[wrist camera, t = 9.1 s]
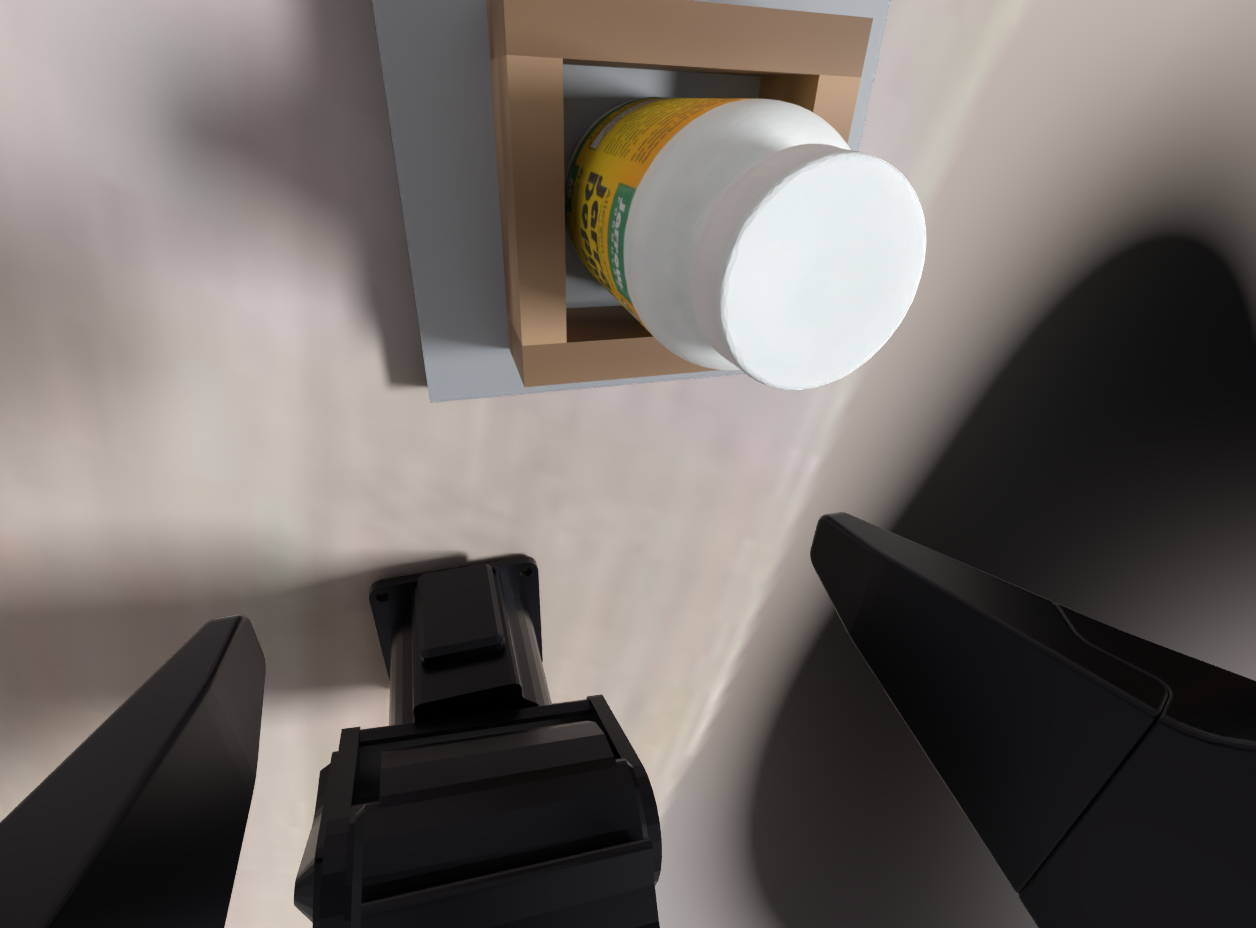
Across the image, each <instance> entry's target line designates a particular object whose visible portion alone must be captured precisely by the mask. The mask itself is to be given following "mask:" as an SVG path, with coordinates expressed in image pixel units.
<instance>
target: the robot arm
mask: <svg viewBox="0 0 1256 928" xmlns="http://www.w3.org/2000/svg"><path fill="white" fill-rule="evenodd" d="M810 557H811V561H812V564H813V567H814V568H815V571H816V573H817V574H818V576H819V578H820V580H821V582H822V584H823V586H824V588H825V590H826V592H827V594H828V596H829V598H830V600H831V602H832V604H833V606H834V607H835V609H836V611H837V613H838V615H839V617H840V619H841V621H842V623H843V625H844V626H845V628H846V630H847V632H848V634H849V636H850V637H851V639H852V641H853V642H854V644H855V646H856V647H857V649H858V650H859V652H860V653H861V655H862V656H863V658H864V659H865V661H866V662H867V664H868V666H869V667H870V669H871V670H872V672H873V673H874V675H875V677H876V678H877V679H878V681H879V683H880V684H881V686H882V687H883V689H884V690H885V692H886V693H887V695H888V696H889V698H890V700H891V701H892V703H893V704H894V706H895V707H896V709H897V710H898V712H899V713H900V715H901V716H902V718H903V719H904V721H905V723H906V724H907V726H908V727H909V729H910V730H911V731H912V733H913V735H914V736H915V738H916V740H917V741H918V743H919V744H920V746H921V747H922V749H923V750H924V752H925V753H926V755H927V757H928V758H929V759H930V761H931V763H932V764H933V766H934V767H935V769H936V770H937V772H938V773H939V775H940V777H941V778H942V780H943V781H944V783H945V784H946V786H947V787H948V789H949V790H950V792H951V793H952V795H953V796H954V798H955V800H956V801H957V802H958V804H959V806H960V807H961V809H962V810H963V812H964V813H965V815H966V816H967V818H968V820H969V821H970V823H971V824H972V826H973V827H974V829H975V830H976V832H977V833H978V835H979V837H980V838H981V840H982V841H983V843H984V844H985V846H986V847H987V849H988V850H989V852H990V853H991V855H992V856H993V858H994V860H995V861H996V863H997V864H998V866H999V867H1000V869H1001V870H1002V872H1003V873H1004V875H1005V877H1006V878H1007V880H1008V881H1009V883H1010V884H1011V886H1012V887H1013V889H1014V890H1015V892H1016V893H1019V894H1018V897H1019V899H1020V900H1021V902H1022V903H1023V905H1024V906H1025V908H1026V909H1027V911H1028V912H1029V914H1030V915H1031V917H1032V918H1033V920H1034V922H1035V923H1036V925H1037V926H1038V928H1256V681H1254V680H1251V679H1249V678H1246V677H1244V676H1241V675H1238V674H1235V673H1233V672H1230V671H1227V670H1225V669H1222V668H1219V667H1217V666H1214V665H1211V664H1209V663H1206V662H1203V661H1200V660H1198V659H1195V658H1193V657H1190V656H1187V655H1184V654H1182V653H1179V652H1176V651H1174V650H1171V649H1169V648H1166V647H1163V646H1161V645H1158V644H1155V643H1153V642H1150V641H1148V640H1145V639H1142V638H1140V637H1137V636H1135V635H1132V634H1129V633H1127V632H1124V631H1122V630H1119V629H1117V628H1114V627H1112V626H1109V625H1107V624H1105V623H1102V622H1099V621H1097V620H1095V619H1092V618H1090V617H1088V616H1085V615H1083V614H1080V613H1078V612H1076V611H1073V610H1071V609H1069V608H1067V607H1064V606H1062V605H1060V604H1053V602H1052V601H1050V600H1048V599H1045V598H1043V597H1041V596H1038V595H1036V594H1034V593H1031V592H1029V591H1027V590H1024V589H1022V588H1019V587H1017V586H1015V585H1013V584H1010V583H1008V582H1006V581H1003V580H1001V579H999V578H996V577H994V576H992V575H989V574H987V573H985V572H982V571H980V570H977V569H975V568H973V567H971V566H968V565H966V564H964V563H961V562H959V561H957V560H954V559H952V558H950V557H947V556H945V555H943V554H940V553H938V552H936V551H933V550H931V549H929V548H926V547H924V546H922V545H919V544H917V543H915V542H912V541H910V540H908V539H905V538H903V537H900V536H898V535H896V534H894V533H891V532H889V531H887V530H884V529H882V528H880V527H877V526H875V525H873V524H870V523H868V522H866V521H864V520H861V519H859V518H857V517H854V516H852V515H850V514H847V513H844V512H837V513H832V514H826V515H823V516H821V517H820V519H819V520H818V523H817V527H816V531H815V535H814V538H813V542H812V546H811V551H810ZM525 567H529V569H528V570H525V571H522V570H521V569H523V568H525ZM380 592H387V593H388V594H385V595H381V594H378V593H380ZM369 600H370V604H371V608H372V612H373V616H374V620H375V624H376V628H377V632H378V636H379V640H380V644H381V648H382V652H383V656H384V660H385V664H386V668H387V672H388V676H389V680H390V707H389V726H384V727H377V728H369V729H362V730H360V727H354V728H346V729H342V732H341V738H340V744H339V751H337V752H333V753H332V757H331V763H330V764H329V765H327V766H326V767H325V768H323V769H322V770H321V771H320V777H319V785H318V793H317V801H316V808H315V815H314V820H313V825H312V829H311V832H310V835H309V838H308V842H307V845H306V848H305V851H304V855H303V858H302V861H301V864H300V868H299V871H298V874H297V877H296V882H295V889H294V906H296V907H297V908H298V909H299V910H300V911H301V912H302V913H303V914H304V915H305V916H306V917H307V918H308V919H309V920H311V921H312V922H313V928H660V926H659V920H658V910H657V902H656V893H655V885H656V883H657V882H658V879H659V875H660V871H661V861H662V841H661V831H660V822H659V816H658V811H657V805H656V801H655V797H654V793H653V790H652V787H651V784H650V781H649V778H648V775H647V773H646V771H645V769H644V767H643V765H642V763H641V761H640V760H639V758H638V756H637V754H636V753H635V751H634V749H633V747H632V746H631V744H630V742H629V740H628V739H627V737H626V735H625V733H624V732H623V730H622V728H621V726H620V725H619V723H618V721H617V720H616V718H615V716H614V714H613V713H612V711H611V709H610V707H609V706H608V704H607V702H606V700H605V699H604V697H603V695H595V696H588V697H587V699H585V700H578V701H570V702H563V703H555V704H552V703H551V699H550V695H549V691H548V686H547V682H546V678H545V674H544V670H543V665H542V661H543V659H542V639H541V619H540V599H539V578H538V568H537V564H536V561H535V560H534V559H533V558H531V557H518V558H512V559H506V560H500V561H494V562H488V563H482V564H476V565H470V566H464V567H458V568H452V569H446V570H440V571H434V572H428V573H422V574H415V575H409V576H403V577H397V578H391V579H385V580H380V581H377V582H375V583H374V584H372V586H371V587H370V594H369ZM265 670H266V669H265V658H264V654H263V652H262V649H261V647H260V644H259V642H258V639H257V637H256V634H255V632H254V629H253V627H252V624H251V622H250V620H249V619H248V617H247V616H245V615H242V614H238V615H232V616H226V617H220V618H215V619H212V620H210V621H208V622H207V623H206V624H205V625H204V626H203V627H202V628H200V629H199V630H198V631H197V632H196V633H195V634H194V635H193V636H192V637H191V638H190V639H189V640H188V641H187V642H186V643H185V644H184V645H183V646H182V647H181V648H180V649H179V650H178V651H177V652H176V653H175V654H174V655H173V656H172V657H171V658H170V659H169V660H167V661H166V662H165V663H164V664H163V665H162V666H161V667H160V668H159V669H158V670H157V671H156V672H155V673H154V674H153V675H152V676H151V677H150V678H149V679H148V680H147V681H146V682H145V683H144V684H143V685H142V686H141V687H140V688H139V689H138V690H137V691H135V692H134V693H133V694H132V695H131V696H130V697H129V698H128V699H127V700H126V701H125V702H124V703H123V704H122V705H121V706H120V707H119V708H118V709H117V710H116V711H115V712H114V713H113V714H112V715H111V716H110V717H109V718H108V719H107V720H106V721H105V722H104V723H102V724H101V725H100V726H99V727H98V728H97V729H96V730H95V731H94V732H93V733H92V734H91V735H90V736H89V737H88V738H87V739H86V740H85V741H84V742H83V743H82V744H81V745H80V746H79V747H78V748H77V749H76V750H75V751H74V752H73V753H72V754H71V755H69V756H68V757H67V758H66V759H65V760H64V761H63V762H62V763H61V764H60V765H59V766H58V767H57V768H56V769H55V770H54V771H53V772H52V773H51V774H50V775H49V776H48V777H47V778H46V779H45V780H44V781H43V782H42V783H41V784H40V785H39V786H38V787H36V788H35V789H34V790H33V791H32V792H31V793H30V794H29V795H28V796H27V797H26V798H25V799H24V800H23V801H22V802H21V803H20V804H19V805H18V806H17V807H16V808H15V809H14V810H13V811H12V812H11V813H10V814H9V815H8V816H7V817H6V818H4V819H3V820H2V821H1V822H0V928H224V926H225V921H226V917H227V912H228V907H229V903H230V898H231V893H232V889H233V884H234V879H235V875H236V870H237V865H238V861H239V856H240V851H241V847H242V842H243V837H244V833H245V828H246V823H247V819H248V814H249V809H250V805H251V800H252V795H253V790H254V784H255V779H256V771H257V762H258V751H259V740H260V728H261V717H262V705H263V694H264V683H265Z"/></svg>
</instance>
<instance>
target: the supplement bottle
mask: <svg viewBox="0 0 1256 928" xmlns="http://www.w3.org/2000/svg"><path fill="white" fill-rule="evenodd" d="M564 189H565V229H566V232H567V235H568V238H569V241H570V243H571V246H572V248H573V250H574V252H575V253H576V255H577V257H578V258H579V260H580V261H581V262H582V264H583V265H584V266H585V267H586V269H587V270H588V271H589V272H590V273H591V274H592V275H593V276H594V277H595V278H596V279H597V280H598V281H599V282H600V283H601V284H602V285H603V286H604V287H605V288H606V289H607V290H608V291H609V292H610V293H611V294H612V295H613V296H614V297H615V298H616V299H617V300H618V301H619V302H620V303H621V304H622V305H623V306H624V307H625V308H626V309H627V310H628V312H629V313H630V314H631V315H633V316H634V317H635V318H636V319H637V320H638V321H639V322H640V323H641V325H642V326H643V327H644V328H645V329H646V330H647V331H648V332H649V333H650V334H651V335H652V336H653V337H654V338H655V339H657V340H658V341H659V342H660V343H661V344H662V345H663V346H664V347H666V348H667V349H668V350H670V351H671V352H672V353H674V354H676V355H677V356H679V357H681V358H682V359H684V360H686V361H688V362H690V363H693V364H696V365H699V366H702V367H707V368H711V369H717V370H742V371H743V372H744V373H745V374H747V375H748V376H750V377H751V378H753V379H755V380H757V381H759V382H760V383H762V384H765V385H768V386H771V387H774V388H778V389H783V390H804V389H811V388H815V387H819V386H822V385H825V384H828V383H831V382H833V381H835V380H838V379H840V378H842V377H844V376H846V375H848V374H849V373H851V372H853V371H854V370H855V369H857V368H858V367H860V366H861V365H862V364H864V363H865V362H866V361H868V360H869V359H870V358H871V357H872V356H873V355H874V354H875V353H876V352H877V351H878V350H879V349H880V348H881V347H882V346H883V345H884V344H885V343H886V342H887V340H888V339H889V338H890V337H891V335H892V334H893V333H894V331H895V330H896V328H897V327H898V326H899V324H900V323H901V322H902V320H903V318H904V316H905V315H906V313H907V311H908V309H909V307H910V305H911V303H912V301H913V299H914V296H915V294H916V291H917V288H918V284H919V281H920V279H921V275H922V270H923V265H924V260H925V251H926V228H925V220H924V214H923V211H922V207H921V204H920V202H919V199H918V197H917V195H916V192H915V191H914V189H913V188H912V186H911V184H910V183H909V181H908V180H907V179H906V178H905V177H904V175H903V174H902V173H901V172H900V171H898V170H897V169H896V168H895V167H894V166H892V165H891V164H889V163H888V162H886V161H884V160H882V159H880V158H878V157H875V156H873V155H870V154H867V153H864V152H859V151H853V150H851V149H850V148H849V146H848V144H847V143H846V142H845V141H844V139H843V138H842V137H841V136H840V134H839V133H838V132H837V131H836V130H835V129H834V128H833V127H832V126H831V125H830V124H829V123H827V122H826V121H825V120H824V119H822V118H821V117H820V116H818V115H816V114H815V113H813V112H811V111H810V110H807V109H805V108H803V107H801V106H798V105H795V104H791V103H788V102H784V101H780V100H772V99H749V98H727V99H721V98H671V97H665V98H664V97H648V98H640V99H635V100H631V101H628V102H625V103H623V104H621V105H618V106H616V107H614V108H613V109H611V110H609V111H607V112H606V113H604V114H603V115H602V116H600V117H599V118H598V119H597V120H596V121H595V122H594V123H593V124H592V125H591V126H590V127H589V128H588V130H587V131H586V132H585V134H584V135H583V136H582V138H581V139H580V141H579V143H578V145H577V146H576V148H575V150H574V152H573V154H572V157H571V159H570V161H569V163H568V167H567V170H566V174H565V177H564Z"/></svg>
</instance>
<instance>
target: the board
mask: <svg viewBox="0 0 1256 928" xmlns="http://www.w3.org/2000/svg"><path fill="white" fill-rule="evenodd" d="M691 1H701V2H712V3H722V4H733V5H743V6H753V7H764V8H774V9H784V10H795V11H805V12H815V13H826V14H836V15H847V16H857V17H867V18H873V22H872V27H871V31H870V36H869V41H868V46H867V51H866V56H865V61H864V66H863V71H862V76H861V80H860V85H859V90H858V95H857V100H856V105H855V110H854V115H853V120H852V125H851V130H850V134H849V139H848V146H849V148H850V149H851V150H853V151H859V147H860V142H861V138H862V133H863V128H864V124H865V119H866V114H867V110H868V105H869V100H870V96H871V91H872V86H873V81H874V77H875V72H876V67H877V63H878V58H879V53H880V49H881V44H882V39H883V35H884V30H885V25H886V21H887V16H888V11H889V7H890V2H891V0H691ZM372 5H373V12H374V19H375V26H376V33H377V40H378V46H379V53H380V60H381V67H382V74H383V81H384V88H385V95H386V102H387V109H388V115H389V122H390V129H391V136H392V143H393V150H394V157H395V164H396V171H397V178H398V184H399V191H400V198H401V205H402V212H403V219H404V226H405V233H406V240H407V247H408V253H409V260H410V267H411V274H412V281H413V288H414V295H415V302H416V309H417V316H418V322H419V329H420V336H421V343H422V350H423V357H424V364H425V371H426V378H427V385H428V392H429V398H430V403H432V402H442V401H453V400H464V399H475V398H486V397H497V396H508V395H519V394H530V393H541V392H552V391H563V390H574V389H585V388H596V387H607V386H618V385H629V384H640V383H651V382H662V381H673V380H684V379H695V378H706V377H717V376H728V375H739V374H745V373H744V372H743V371H742V370H716V371H704V372H693V373H682V374H670V375H659V376H648V377H636V378H625V379H614V380H602V381H591V382H580V383H568V384H557V385H545V386H534V387H524V385H523V382H522V380H521V377H520V375H519V372H518V370H517V367H516V365H515V362H514V360H513V357H512V355H511V352H510V349H509V337H508V322H507V306H506V291H505V276H504V261H503V246H502V230H501V215H500V200H499V185H498V170H497V154H496V139H495V124H494V109H493V94H492V78H491V63H490V48H489V33H488V18H487V2H486V0H372ZM760 81H761V76H746V75H729V74H713V73H696V72H680V71H663V70H647V69H631V68H614V67H598V66H581V65H565V64H563V115H564V177H565V174H566V170H567V167H568V163H569V161H570V159H571V157H572V154H573V152H574V150H575V148H576V146H577V145H578V143H579V141H580V139H581V138H582V136H583V135H584V134H585V132H586V131H587V130H588V128H589V127H590V126H591V125H592V124H593V123H594V122H595V121H596V120H597V119H598V118H599V117H600V116H602V115H603V114H604V113H606V112H607V111H609V110H611V109H613V108H614V107H616V106H618V105H621V104H623V103H625V102H628V101H631V100H635V99H640V98H648V97H664V98H665V97H671V98H721V99H727V98H749V99H758V96H759V89H760ZM565 263H566V308H585V307H603V306H622V304H621V303H620V302H619V301H618V300H617V299H616V298H615V297H614V296H613V295H612V294H611V293H610V292H609V291H608V290H607V289H606V288H605V287H604V286H603V285H602V284H601V283H600V282H599V281H598V280H597V279H596V278H595V277H594V276H593V275H592V274H591V273H590V272H589V271H588V270H587V269H586V267H585V266H584V265H583V264H582V262H581V261H580V260H579V258H578V257H577V255H576V253H575V252H574V250H573V248H572V246H571V243H570V241H569V238H568V235H567V232H566V229H565Z"/></svg>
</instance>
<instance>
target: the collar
mask: <svg viewBox="0 0 1256 928" xmlns="http://www.w3.org/2000/svg"><path fill="white" fill-rule="evenodd" d="M486 2H487V18H488V33H489V48H490V63H491V78H492V94H493V109H494V124H495V139H496V154H497V170H498V185H499V200H500V215H501V230H502V246H503V261H504V276H505V291H506V306H507V322H508V337H509V349H510V352H511V355H512V357H513V360H514V362H515V365H516V367H517V370H518V372H519V375H520V377H521V380H522V382H523V385H524V387H534V386H545V385H557V384H568V383H580V382H591V381H602V380H614V379H625V378H636V377H648V376H659V375H670V374H682V373H693V372H704V371H716V370H717V369H711V368H707V367H702V366H699V365H696V364H693V363H690V362H688V361H686V360H684V359H682V358H681V357H679V356H677V355H676V354H674V353H672V352H671V351H670V350H668V349H667V348H666V347H664V346H663V345H662V344H661V343H660V342H659V341H658V340H657V339H655V338H654V337H653V336H652V335H651V334H650V333H649V332H648V331H647V330H646V329H645V328H644V327H643V326H642V325H641V323H640V322H639V321H638V320H637V319H636V318H635V317H634V316H633V315H631V314H630V313H629V312H628V310H627V309H626V308H625V307H624V306H623V305H622V306H603V307H585V308H566V263H565V189H564V115H563V64H565V65H581V66H598V67H614V68H631V69H647V70H663V71H680V72H696V73H713V74H729V75H746V76H761V81H760V89H759V96H758V99H772V100H780V101H784V102H788V103H791V104H795V105H798V106H801V107H803V108H805V109H807V110H810V111H811V112H813V113H815V114H816V115H818V116H820V117H821V118H822V119H824V120H825V121H826V122H827V123H829V124H830V125H831V126H832V127H833V128H834V129H835V130H836V131H837V132H838V133H839V134H840V136H841V137H842V138H843V139H844V141H845V142H846V143H847V144H848V139H849V134H850V130H851V125H852V120H853V115H854V110H855V105H856V100H857V95H858V90H859V85H860V80H861V76H862V71H863V66H864V61H865V56H866V51H867V46H868V41H869V36H870V31H871V27H872V22H873V18H867V17H857V16H847V15H836V14H826V13H815V12H805V11H795V10H784V9H774V8H764V7H753V6H743V5H733V4H722V3H712V2H701V1H691V0H486Z"/></svg>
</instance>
